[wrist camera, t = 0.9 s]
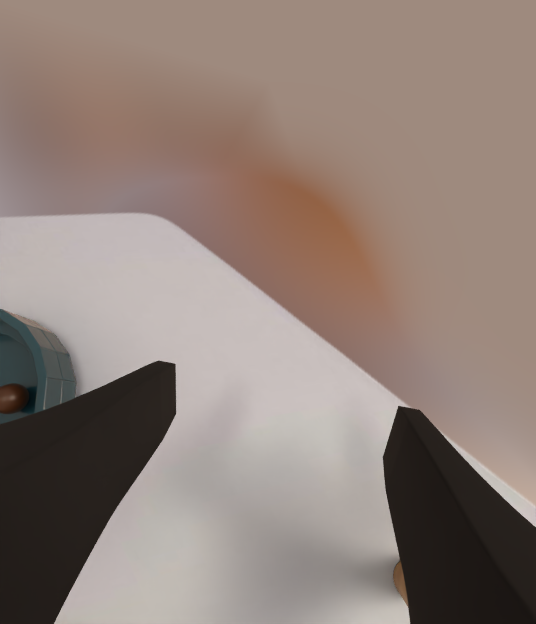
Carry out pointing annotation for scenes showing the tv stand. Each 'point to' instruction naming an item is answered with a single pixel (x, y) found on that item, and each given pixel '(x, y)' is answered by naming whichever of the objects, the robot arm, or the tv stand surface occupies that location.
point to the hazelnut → (13, 398)
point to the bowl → (34, 364)
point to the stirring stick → (400, 581)
